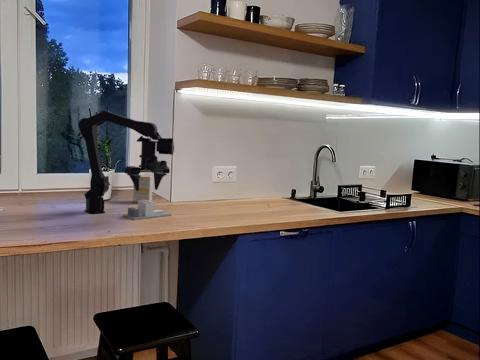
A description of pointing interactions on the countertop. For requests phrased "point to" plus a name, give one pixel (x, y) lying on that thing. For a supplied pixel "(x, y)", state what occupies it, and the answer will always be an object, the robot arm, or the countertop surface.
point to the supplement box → (143, 189)
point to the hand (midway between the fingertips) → (146, 190)
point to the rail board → (138, 215)
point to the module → (146, 207)
